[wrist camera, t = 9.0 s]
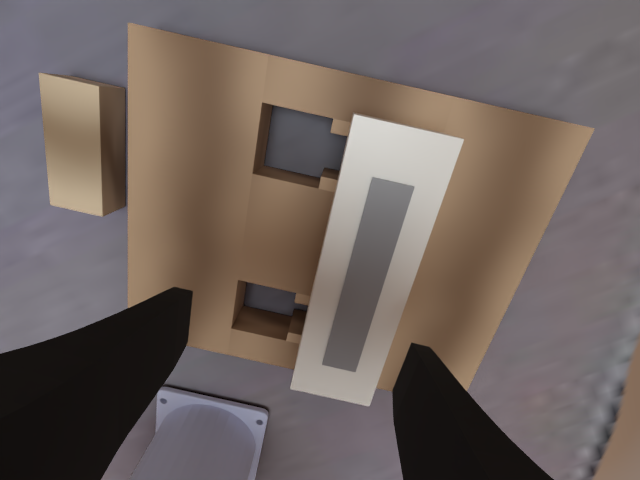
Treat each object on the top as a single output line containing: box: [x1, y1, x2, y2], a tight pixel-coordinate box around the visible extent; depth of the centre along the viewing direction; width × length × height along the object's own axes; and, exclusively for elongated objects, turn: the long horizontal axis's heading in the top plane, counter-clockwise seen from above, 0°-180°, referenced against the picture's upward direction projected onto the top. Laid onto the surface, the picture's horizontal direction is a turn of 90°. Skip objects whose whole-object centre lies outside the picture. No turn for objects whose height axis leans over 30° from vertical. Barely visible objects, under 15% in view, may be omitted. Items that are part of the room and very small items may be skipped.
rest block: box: [39, 73, 125, 217], centre depth 18 cm, size 6×3×2 cm, turn 168°
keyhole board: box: [128, 23, 594, 392], centre depth 19 cm, size 20×16×2 cm
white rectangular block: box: [290, 112, 464, 406], centre depth 17 cm, size 13×4×5 cm, turn 168°
